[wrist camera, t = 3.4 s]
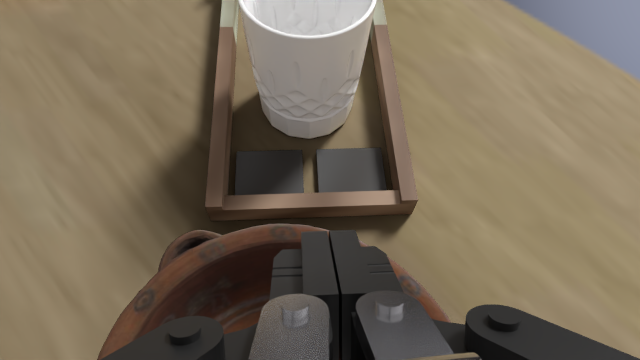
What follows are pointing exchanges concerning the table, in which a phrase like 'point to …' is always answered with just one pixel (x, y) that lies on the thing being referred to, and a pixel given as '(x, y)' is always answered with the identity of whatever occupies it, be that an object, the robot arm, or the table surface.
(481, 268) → the table surface
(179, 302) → the dish
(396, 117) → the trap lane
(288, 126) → the white cup
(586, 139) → the table surface
